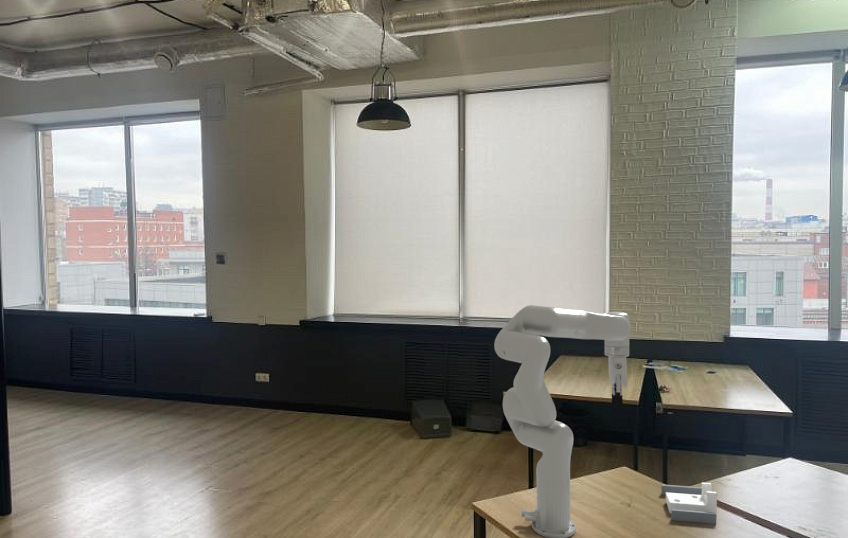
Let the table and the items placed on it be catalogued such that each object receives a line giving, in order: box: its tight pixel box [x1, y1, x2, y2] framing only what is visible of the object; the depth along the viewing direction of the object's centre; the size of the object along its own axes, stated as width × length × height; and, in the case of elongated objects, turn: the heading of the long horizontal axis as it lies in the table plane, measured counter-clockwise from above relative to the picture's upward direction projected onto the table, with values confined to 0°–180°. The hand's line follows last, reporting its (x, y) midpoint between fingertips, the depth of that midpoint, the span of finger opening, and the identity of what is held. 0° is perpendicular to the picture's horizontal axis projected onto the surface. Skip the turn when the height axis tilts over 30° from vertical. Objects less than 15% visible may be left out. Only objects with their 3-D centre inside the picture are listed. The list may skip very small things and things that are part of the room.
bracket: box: [665, 482, 718, 518], centre depth 175 cm, size 13×7×8 cm, turn 76°
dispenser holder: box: [661, 483, 717, 525], centre depth 176 cm, size 12×18×3 cm, turn 167°
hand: (617, 406), depth 185 cm, fingers closed
